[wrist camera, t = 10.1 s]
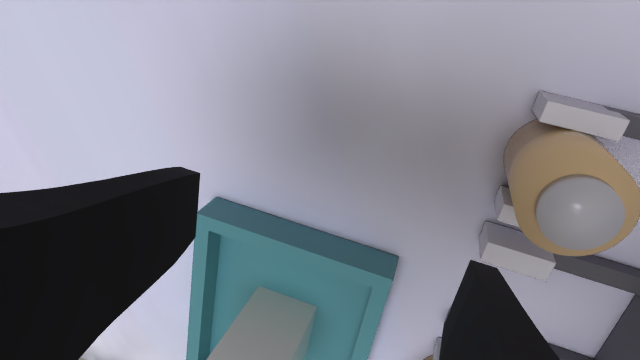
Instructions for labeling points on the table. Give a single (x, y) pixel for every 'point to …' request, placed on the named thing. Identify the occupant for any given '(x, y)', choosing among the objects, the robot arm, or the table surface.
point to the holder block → (528, 259)
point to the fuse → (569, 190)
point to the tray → (284, 279)
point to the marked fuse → (268, 329)
